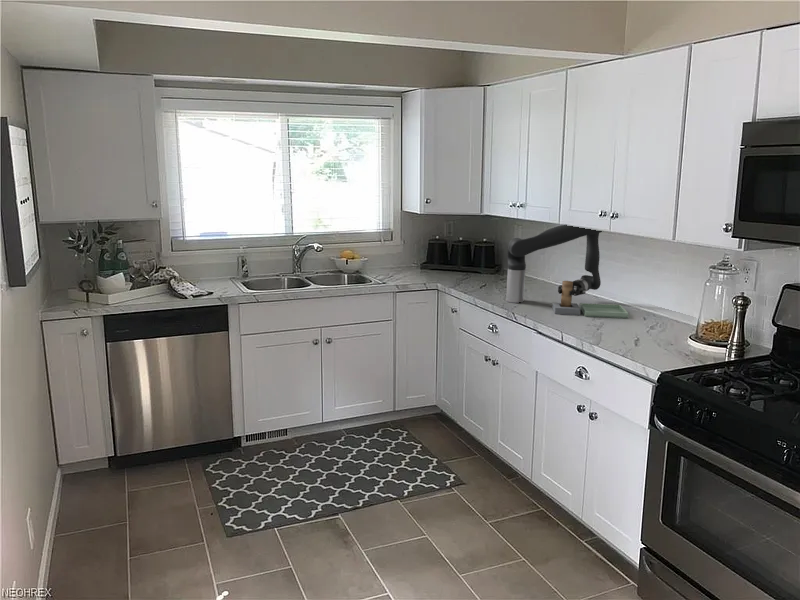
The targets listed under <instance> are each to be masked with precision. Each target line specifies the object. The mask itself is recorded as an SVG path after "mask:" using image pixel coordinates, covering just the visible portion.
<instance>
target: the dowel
mask: <svg viewBox="0 0 800 600" xmlns="http://www.w3.org/2000/svg"><path fill="white" fill-rule="evenodd" d="M561 285H562V293H561V295H560V296H561V297H560V303H561V307H571V303H572V299H573V298H572V296H573V295H569V294H570V291H571V290H572V288H573V282H572V280H562V284H561Z"/></svg>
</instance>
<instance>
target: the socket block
mask: <svg viewBox="0 0 800 600" xmlns="http://www.w3.org/2000/svg"><path fill="white" fill-rule="evenodd" d="M551 308H552V311H553V313H554V315H571V316H572V315H573V316H574V315H575V316H576V315H577V316H580V315H581V309H580V305H579V304H578V303H575V302H573V303H572V302H571V307H561V302H552V307H551Z"/></svg>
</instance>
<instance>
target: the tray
mask: <svg viewBox="0 0 800 600" xmlns="http://www.w3.org/2000/svg"><path fill="white" fill-rule="evenodd" d="M579 307H580V309H581V310H580V312H582V314H583V315H584V317H586V318H606V319H607V318H610V319H629V312H628V311H627V310H626V309H625V308H624V306H623V305H621V304H609V303H603V304H602V303H587V302H586V303H583V302H580V303H579Z"/></svg>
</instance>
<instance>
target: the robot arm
mask: <svg viewBox="0 0 800 600" xmlns="http://www.w3.org/2000/svg"><path fill="white" fill-rule="evenodd" d="M600 233H603V232H602V231H596V230H591V229H585V228H579V227H573V226H567V224H562V225H558V226H557V225H556V226H554V227H552V228H549V229H546V230H544V231H543V232H540V233H539V234H537V235H535V236H531V237H527V238H523V239H522V238H519V237H514V238H512V239H510V241H509V242H508V244H507V245H508V246H507V255H506V256H507V258H506V259H507V261H506V263H507V277H506V296H505V297H506V298H505V300H506V302H508V303H514V304H515V303H516V304H517V303H519V302H521V303H524V302H523V301H525V288H526V287H525V285H526V268H527V265H526V259H525V258H526V256H527V255H529V254H531V253H534V252H537V251H539V250H543V249H548V248H552V247H555V246H558V245H561V244H565V243H568V242H571V241H574V240H577V239H579V238H582V237H586V246H585V247H586V249H585V250H586V251H585V261H584V270H585V271H586V272H588V273H590V274H591V275H589V274H584V275H582V276H581V277H580V278H579V279H576V280H573V281H572V280H571V281H572V282H573V288H572V290H571V291H570V294H569V295H572V296H575V297H577V296H580V295H581V296H582V295H586V292H588V291H590V290H593V291H594V290H595V291H596V290H597V291H598V289H599V288H600V287H601V276H600V271H599V270H600V269H599V267H600V259H601V258H600V255H601V254H600V247H599V236H600ZM557 289H558V290H557V293H558V294H561V295H562V284H561V285H560V284H559V286H558V287H557ZM519 304H520V303H519Z"/></svg>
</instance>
